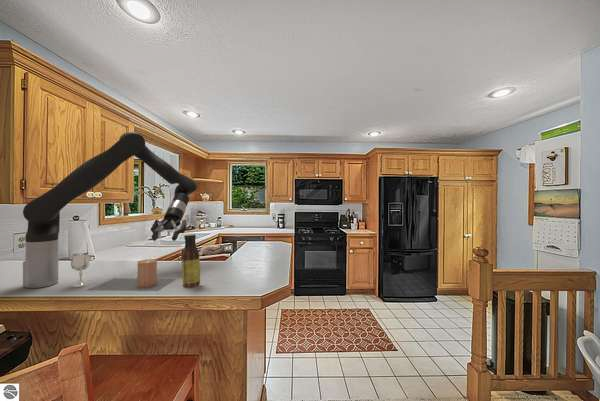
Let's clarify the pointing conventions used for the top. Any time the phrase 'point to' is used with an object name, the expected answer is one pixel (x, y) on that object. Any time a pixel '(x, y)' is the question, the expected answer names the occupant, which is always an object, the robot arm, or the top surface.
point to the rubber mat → (131, 285)
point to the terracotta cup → (147, 273)
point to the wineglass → (80, 265)
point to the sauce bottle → (190, 262)
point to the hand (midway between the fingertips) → (163, 239)
